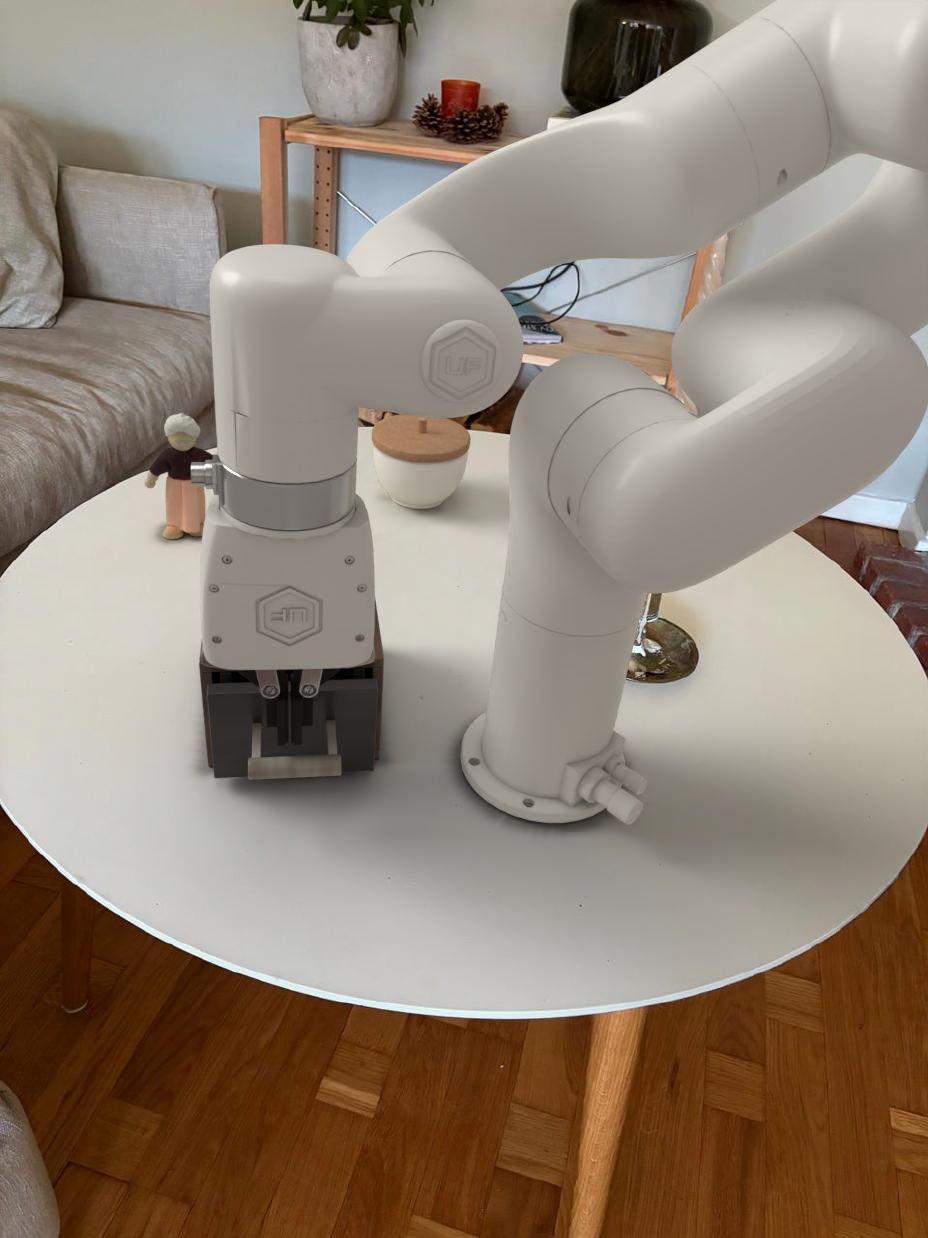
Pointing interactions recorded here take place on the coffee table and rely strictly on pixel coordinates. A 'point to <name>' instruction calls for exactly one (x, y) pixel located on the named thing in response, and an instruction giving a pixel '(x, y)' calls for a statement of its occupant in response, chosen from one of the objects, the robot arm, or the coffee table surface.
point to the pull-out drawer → (326, 746)
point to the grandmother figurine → (180, 478)
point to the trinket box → (419, 458)
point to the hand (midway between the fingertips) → (289, 731)
